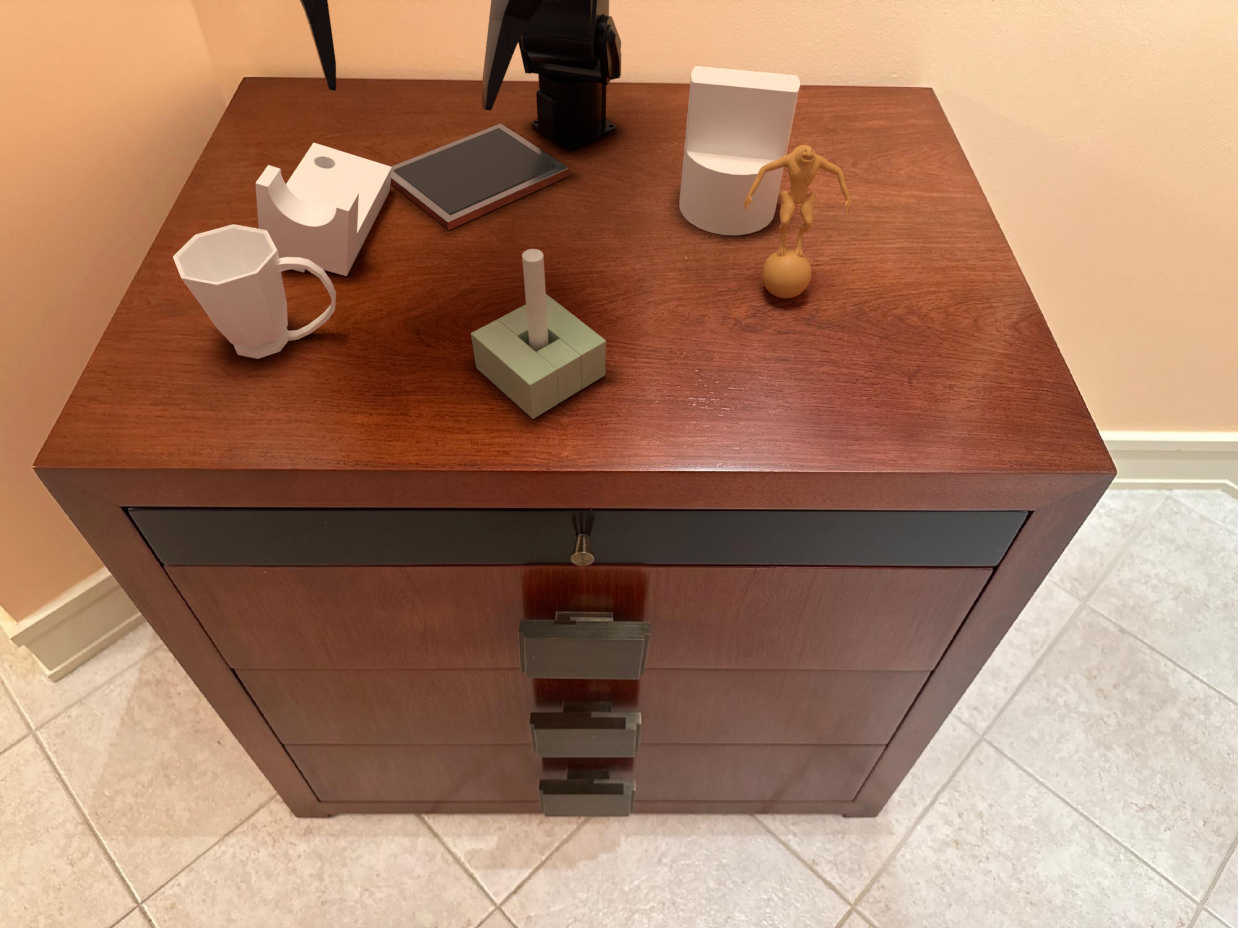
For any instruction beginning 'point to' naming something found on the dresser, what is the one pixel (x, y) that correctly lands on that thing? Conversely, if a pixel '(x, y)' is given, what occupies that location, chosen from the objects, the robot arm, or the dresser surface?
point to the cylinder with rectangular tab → (735, 147)
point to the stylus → (535, 298)
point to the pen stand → (539, 358)
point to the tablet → (476, 175)
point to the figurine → (790, 267)
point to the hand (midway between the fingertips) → (412, 100)
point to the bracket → (322, 206)
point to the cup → (245, 287)
